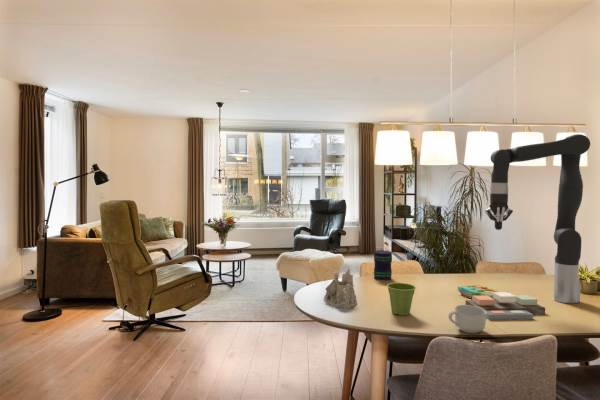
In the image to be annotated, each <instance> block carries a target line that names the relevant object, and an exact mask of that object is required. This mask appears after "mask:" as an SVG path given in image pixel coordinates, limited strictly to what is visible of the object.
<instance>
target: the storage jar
mask: <svg viewBox="0 0 600 400" xmlns="http://www.w3.org/2000/svg"><path fill="white" fill-rule="evenodd" d="M373 253H374V254H373V261H374V268H373V278H374V279H375V280H378V281H391V280H392V274H393V273H392V260H393V257H392V254H393V253H392V251H391V250H375V251H373Z"/></svg>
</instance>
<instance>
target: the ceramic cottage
mask: <svg viewBox="0 0 600 400" xmlns="http://www.w3.org/2000/svg"><path fill="white" fill-rule="evenodd" d="M350 270H351V269H350V268H348V269H347V270H346V271H345V273H342V275H341V280H339V272H336V271H335V272H334V274H333V279H332V281H331V282H330V283H329V284H328V285H327V286H326V288H325V291H326V292H325V295H324V297H323V302H325V303H326V304H329V305H330V306H332V307H335V308H342V309H349V308H352V307H354V306H357V304H358V299H357V295H356V293H355V289H354V286H355V285H354V279H353V278H354V277H353V276H354V275H353V274H351V271H350Z"/></svg>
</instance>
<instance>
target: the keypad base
mask: <svg viewBox="0 0 600 400" xmlns="http://www.w3.org/2000/svg"><path fill="white" fill-rule="evenodd" d="M464 305H471V306H476V307H480V308H482V309H484V310H485V311H512V310H526V311H528V312H530V313H532V314H533V315H545V314H546V307H544V306H542V305H540V304H538V303H537V305H520V304H519V303H517V302H499V301H498V300H495V305H487V306H479V305H478V304H476V303H475V302H473V301H472V299H470V300H469V299H466V300H465V304H464Z"/></svg>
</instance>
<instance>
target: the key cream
mask: <svg viewBox="0 0 600 400" xmlns="http://www.w3.org/2000/svg"><path fill="white" fill-rule="evenodd" d="M493 298H494V299H496V300H498V301H499V302H516V296H514V294H513V293H510V292H508V291H507V292H505V291H504V292H503V291H502V292H501V291H498V292H493Z"/></svg>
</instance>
